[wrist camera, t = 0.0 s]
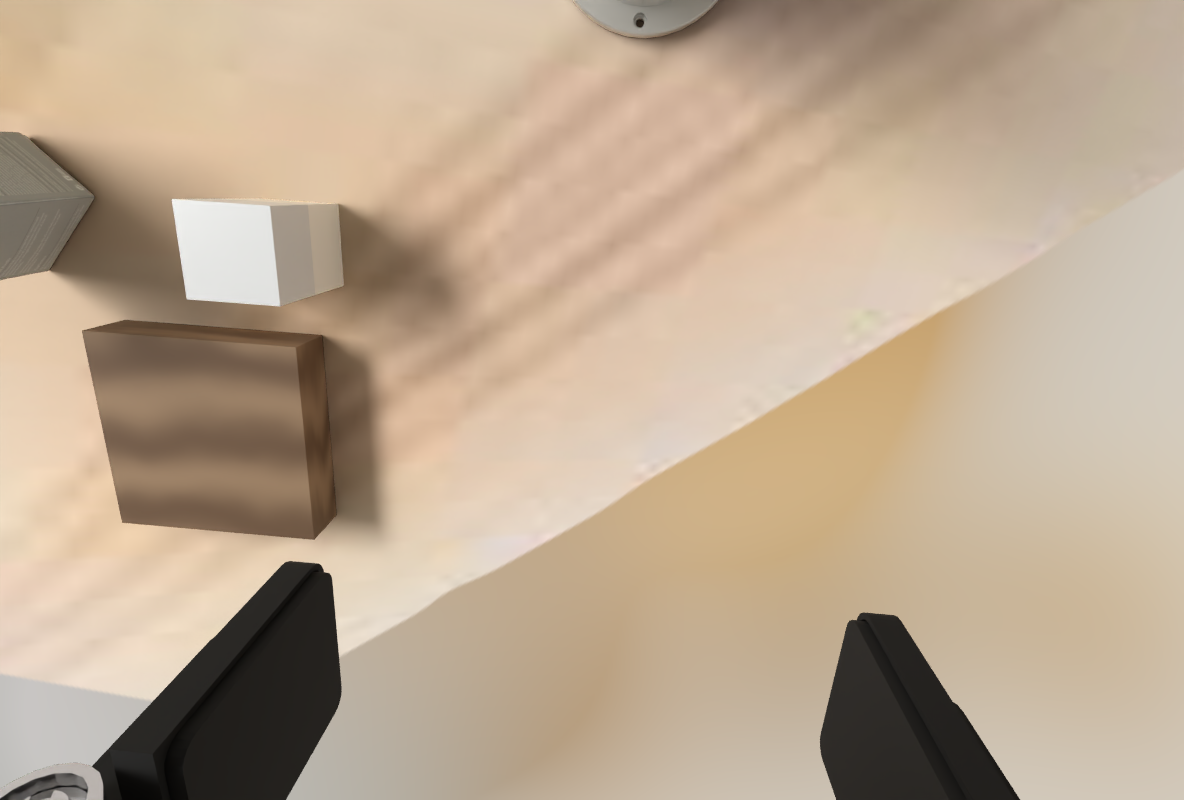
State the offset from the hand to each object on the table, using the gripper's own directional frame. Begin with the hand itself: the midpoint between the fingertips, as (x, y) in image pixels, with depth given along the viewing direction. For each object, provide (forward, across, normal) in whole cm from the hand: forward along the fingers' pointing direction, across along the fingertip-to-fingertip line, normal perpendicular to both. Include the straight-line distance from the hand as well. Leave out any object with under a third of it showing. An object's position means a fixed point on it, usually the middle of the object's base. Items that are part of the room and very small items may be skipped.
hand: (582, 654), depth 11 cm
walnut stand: (+37, +31, +12) cm, 50 cm away
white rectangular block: (+37, +24, -3) cm, 44 cm away
